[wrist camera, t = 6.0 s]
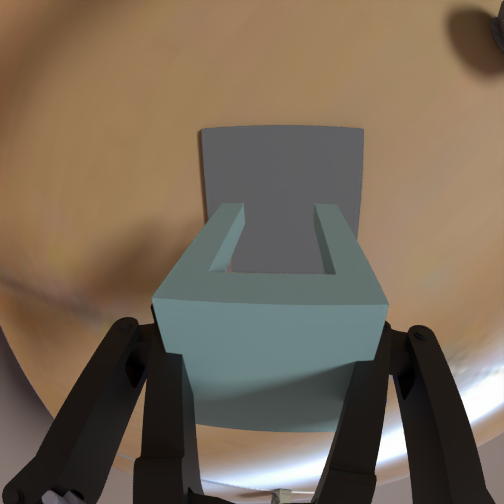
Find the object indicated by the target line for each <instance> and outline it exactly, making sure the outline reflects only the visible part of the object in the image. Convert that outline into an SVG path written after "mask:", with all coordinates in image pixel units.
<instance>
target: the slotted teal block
mask: <svg viewBox="0 0 504 504" xmlns="http://www.w3.org/2000/svg"><path fill="white" fill-rule="evenodd" d="M244 225H245V215H244V203H222V204H221V205H220V207H219V208H218V209H217V210H216V212H215V213H214V214H213V215H212V217H211V218H210V219H209V221H208V222H207V223H206V224H205V226H204V227H203V228H202V230H201V231H200V232H199V234H198V235H197V236H196V238H195V239H194V240H193V241H192V243H191V244H190V245H189V247H188V248H187V249H186V251H185V252H184V253H183V255H182V256H181V257H180V259H179V260H178V261H177V263H176V264H175V266H174V267H173V268H172V270H171V271H170V272H169V274H168V275H167V276H166V278H165V279H164V281H163V282H162V283H161V285H160V286H159V288H158V289H157V290H156V292H155V293H154V295H153V296H152V297H151V299H152V303H153V307H154V311H155V315H156V318H157V322H158V326H159V329H160V333H161V337H162V340H163V344H164V347H165V350H166V352H169V353H176V354H182V355H183V359H184V363H185V367H186V370H187V374H188V378H189V381H190V385H191V388H192V391H193V395H194V411H195V424H200V425H207V426H214V427H222V428H231V429H241V430H254V431H271V432H335V431H336V429H337V425H338V421H339V418H340V414H341V410H342V407H343V403H344V400H345V397H346V393H347V390H348V387H349V384H350V381H351V377H352V374H353V370H354V367H355V363H356V361H368V360H374V357H375V354H376V350H377V347H378V344H379V340H380V337H381V334H382V330H383V326H384V323H385V319H386V315H387V311H388V307H389V303H388V301H387V299H386V296H385V294H384V292H383V290H382V288H381V286H380V284H379V282H378V280H377V278H376V276H375V274H374V272H373V270H372V268H371V266H370V264H369V262H368V260H367V258H366V256H365V255H364V253H363V251H362V249H361V247H360V245H359V243H358V241H357V240H356V238H355V236H354V234H353V232H352V230H351V229H350V227H349V225H348V223H347V222H346V220H345V218H344V216H343V215H342V213H341V211H340V209H339V208H338V206H337V204H314V228H315V232H316V237H317V241H318V245H319V249H320V254H321V258H322V263H323V267H324V272H325V275H324V274H265V273H226V272H225V271H226V269H227V266H228V264H229V261H230V259H231V257H232V254H233V252H234V249H235V247H236V244H237V242H238V239H239V237H240V235H241V232H242V230H243V227H244Z"/></svg>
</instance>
